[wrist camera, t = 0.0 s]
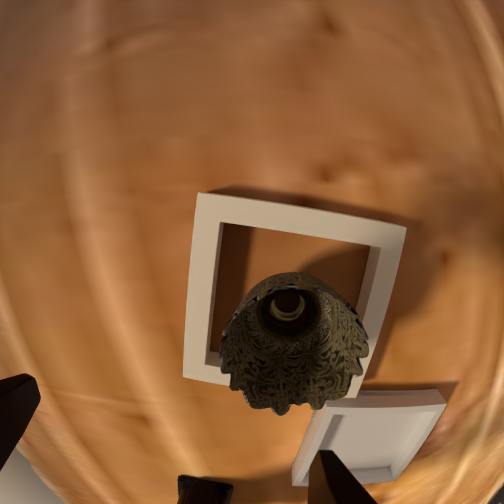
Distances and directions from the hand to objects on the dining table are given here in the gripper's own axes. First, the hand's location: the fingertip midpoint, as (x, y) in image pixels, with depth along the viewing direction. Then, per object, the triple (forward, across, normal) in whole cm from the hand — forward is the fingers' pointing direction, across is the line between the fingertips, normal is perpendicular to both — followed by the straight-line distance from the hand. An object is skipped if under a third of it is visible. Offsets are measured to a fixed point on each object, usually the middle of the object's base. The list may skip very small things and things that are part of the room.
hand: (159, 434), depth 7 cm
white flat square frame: (+15, -4, +1) cm, 15 cm away
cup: (+15, -4, +1) cm, 16 cm away
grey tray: (+15, -15, +14) cm, 25 cm away
